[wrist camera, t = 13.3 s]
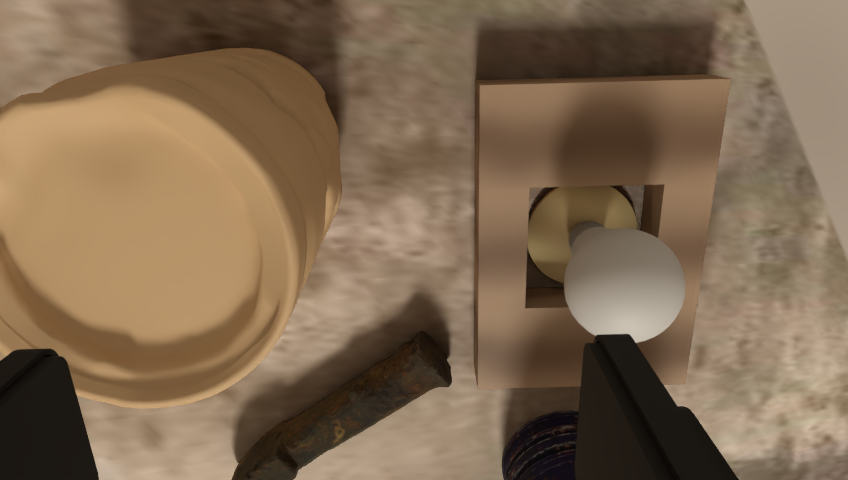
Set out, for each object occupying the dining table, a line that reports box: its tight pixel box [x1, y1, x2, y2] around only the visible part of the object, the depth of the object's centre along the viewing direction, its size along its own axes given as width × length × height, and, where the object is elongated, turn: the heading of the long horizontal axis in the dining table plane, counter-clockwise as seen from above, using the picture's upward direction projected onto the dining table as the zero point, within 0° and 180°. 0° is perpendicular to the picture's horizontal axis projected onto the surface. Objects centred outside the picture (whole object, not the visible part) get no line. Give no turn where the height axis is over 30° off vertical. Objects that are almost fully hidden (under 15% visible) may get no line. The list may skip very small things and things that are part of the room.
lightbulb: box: [564, 221, 686, 343], centre depth 34 cm, size 6×6×11 cm
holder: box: [474, 74, 731, 389], centre depth 38 cm, size 20×14×3 cm
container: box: [0, 48, 342, 408], centre depth 29 cm, size 13×13×18 cm
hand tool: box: [232, 331, 452, 480], centre depth 42 cm, size 19×4×5 cm, turn 123°
